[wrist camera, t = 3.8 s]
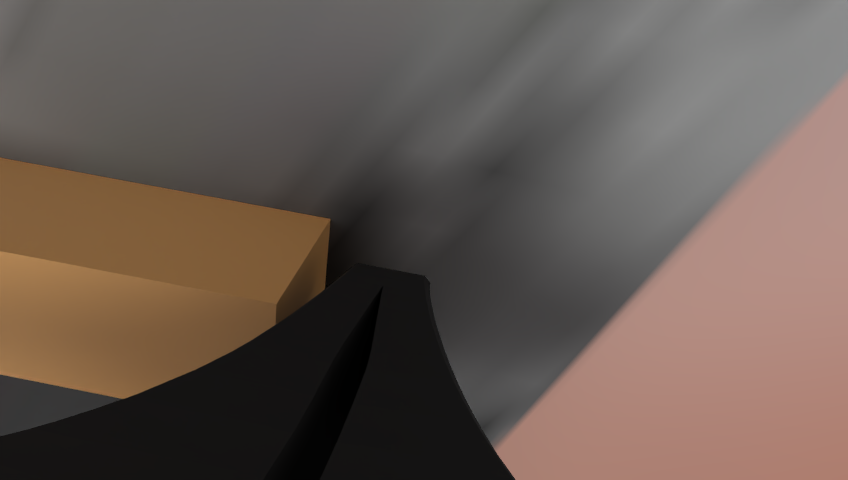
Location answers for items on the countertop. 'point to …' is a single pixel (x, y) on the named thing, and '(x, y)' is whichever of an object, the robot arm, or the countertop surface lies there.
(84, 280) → the plug
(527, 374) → the countertop surface
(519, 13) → the countertop surface
